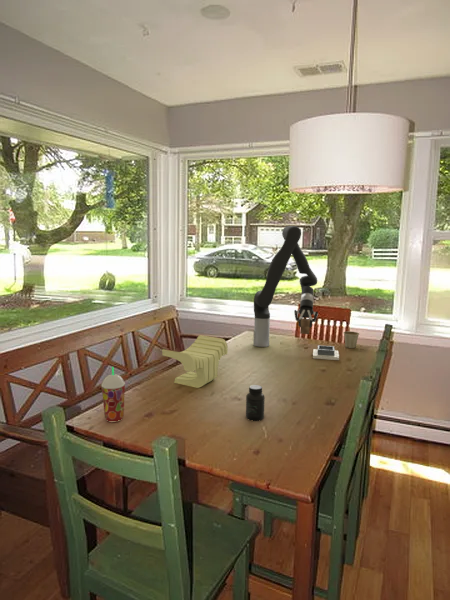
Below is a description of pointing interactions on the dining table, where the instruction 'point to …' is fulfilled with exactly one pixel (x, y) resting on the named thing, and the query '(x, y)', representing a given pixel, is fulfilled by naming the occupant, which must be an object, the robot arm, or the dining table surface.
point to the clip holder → (325, 353)
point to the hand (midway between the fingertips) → (305, 326)
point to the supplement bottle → (255, 403)
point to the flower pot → (351, 339)
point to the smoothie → (113, 396)
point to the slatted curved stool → (199, 360)
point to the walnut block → (305, 326)
